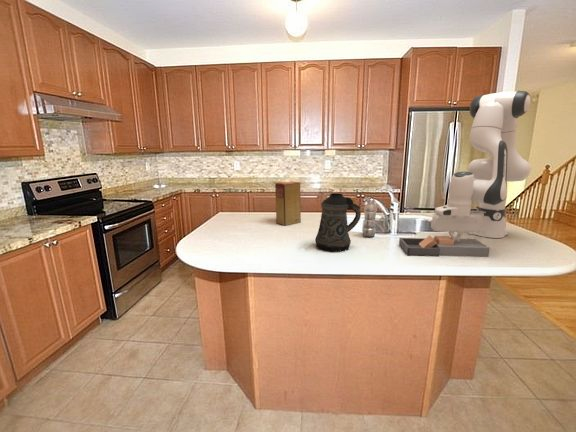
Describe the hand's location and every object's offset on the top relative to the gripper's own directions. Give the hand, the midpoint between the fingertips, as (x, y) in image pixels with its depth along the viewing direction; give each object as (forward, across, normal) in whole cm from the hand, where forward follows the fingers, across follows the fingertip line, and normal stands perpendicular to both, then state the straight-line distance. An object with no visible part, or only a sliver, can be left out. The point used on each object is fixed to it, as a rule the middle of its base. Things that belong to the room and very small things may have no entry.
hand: (454, 241), depth 130 cm
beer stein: (+5, +52, -4) cm, 52 cm away
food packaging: (+5, +78, -46) cm, 91 cm away
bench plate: (+5, -2, 0) cm, 5 cm away
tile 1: (+2, +10, 0) cm, 11 cm away
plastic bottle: (+5, +33, -20) cm, 40 cm away
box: (+5, +15, 0) cm, 16 cm away
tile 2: (+1, +4, 0) cm, 5 cm away
